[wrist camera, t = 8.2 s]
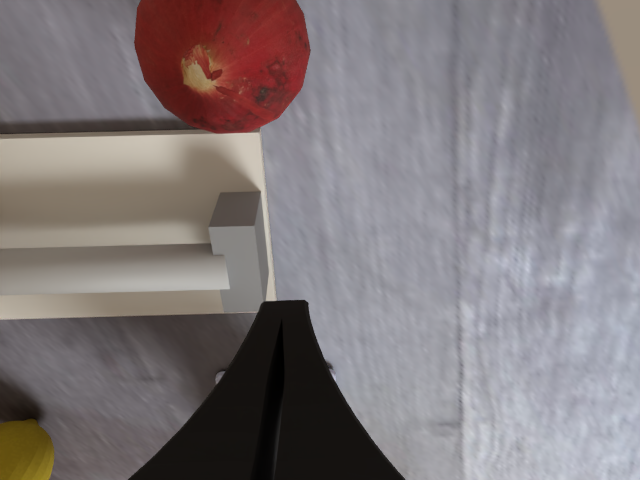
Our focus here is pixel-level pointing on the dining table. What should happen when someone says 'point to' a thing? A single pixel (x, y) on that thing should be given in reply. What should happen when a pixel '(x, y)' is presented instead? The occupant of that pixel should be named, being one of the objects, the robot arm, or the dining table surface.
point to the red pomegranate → (223, 59)
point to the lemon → (25, 451)
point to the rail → (133, 224)
